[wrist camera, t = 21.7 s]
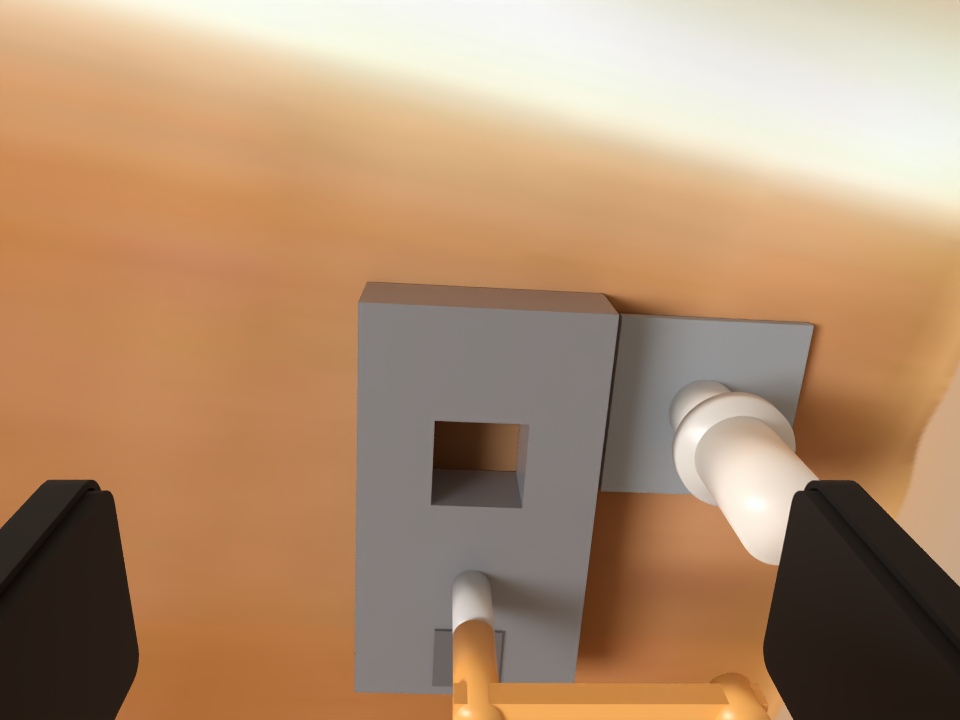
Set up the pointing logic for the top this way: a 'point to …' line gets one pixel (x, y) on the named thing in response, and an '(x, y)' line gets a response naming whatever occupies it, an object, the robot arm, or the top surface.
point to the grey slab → (476, 478)
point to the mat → (676, 363)
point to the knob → (738, 461)
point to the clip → (587, 692)
